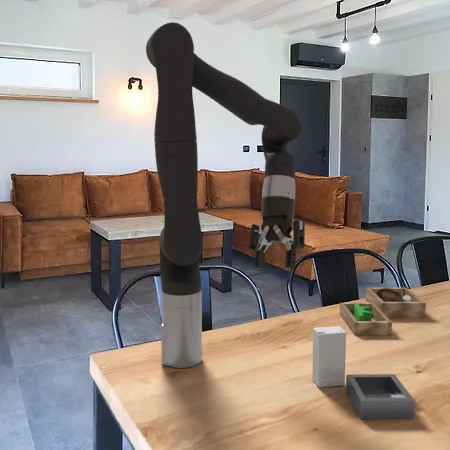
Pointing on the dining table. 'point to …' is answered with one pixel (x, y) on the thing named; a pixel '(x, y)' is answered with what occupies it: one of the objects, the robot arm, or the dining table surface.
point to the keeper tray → (379, 396)
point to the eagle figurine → (393, 295)
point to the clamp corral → (366, 327)
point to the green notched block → (362, 313)
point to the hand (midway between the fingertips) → (274, 268)
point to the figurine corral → (398, 304)
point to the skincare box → (329, 356)
